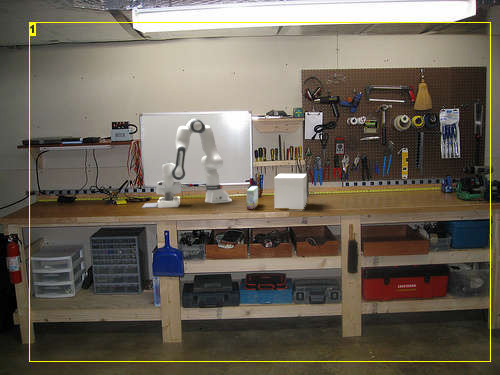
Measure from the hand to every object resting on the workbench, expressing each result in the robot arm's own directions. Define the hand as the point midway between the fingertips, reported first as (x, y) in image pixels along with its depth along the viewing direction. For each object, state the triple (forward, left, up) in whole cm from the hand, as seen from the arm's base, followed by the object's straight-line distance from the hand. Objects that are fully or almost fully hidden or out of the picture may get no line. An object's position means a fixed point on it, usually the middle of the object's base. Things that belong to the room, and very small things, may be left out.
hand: (169, 199), depth 304 cm
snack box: (-66, +22, -5) cm, 70 cm away
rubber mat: (+15, 0, -5) cm, 16 cm away
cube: (-95, +27, -6) cm, 99 cm away
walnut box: (0, 0, -4) cm, 4 cm away
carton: (0, 0, -5) cm, 5 cm away
